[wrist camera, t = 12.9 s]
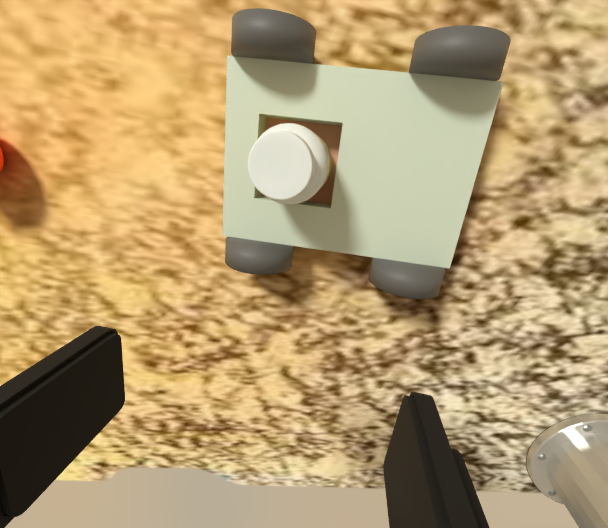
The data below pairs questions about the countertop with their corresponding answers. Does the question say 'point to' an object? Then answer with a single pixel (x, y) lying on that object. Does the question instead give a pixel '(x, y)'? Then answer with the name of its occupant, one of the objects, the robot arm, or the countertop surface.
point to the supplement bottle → (289, 163)
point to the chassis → (360, 148)
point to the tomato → (1, 159)
